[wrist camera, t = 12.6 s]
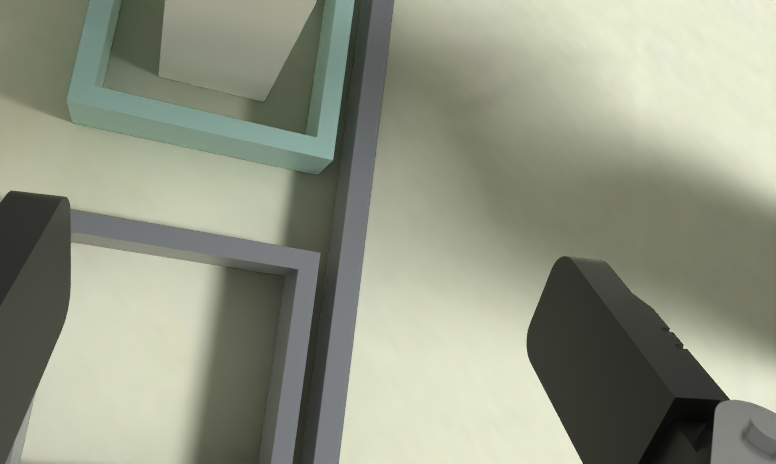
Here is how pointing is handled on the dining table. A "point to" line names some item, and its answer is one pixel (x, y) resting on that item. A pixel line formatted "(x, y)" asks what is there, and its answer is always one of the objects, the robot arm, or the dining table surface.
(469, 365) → the dining table surface
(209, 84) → the plug
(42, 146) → the dining table surface
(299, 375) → the panel
